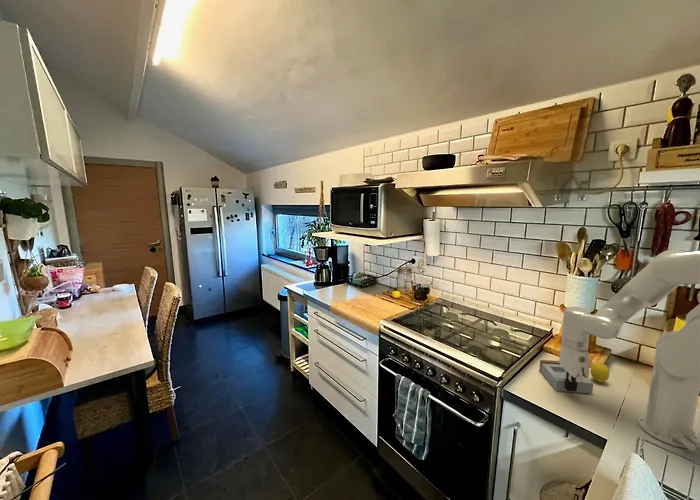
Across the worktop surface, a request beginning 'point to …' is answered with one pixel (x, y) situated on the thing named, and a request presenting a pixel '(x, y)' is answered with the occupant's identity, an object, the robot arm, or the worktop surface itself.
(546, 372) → the tray
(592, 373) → the lemon
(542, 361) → the wall
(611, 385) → the worktop surface
